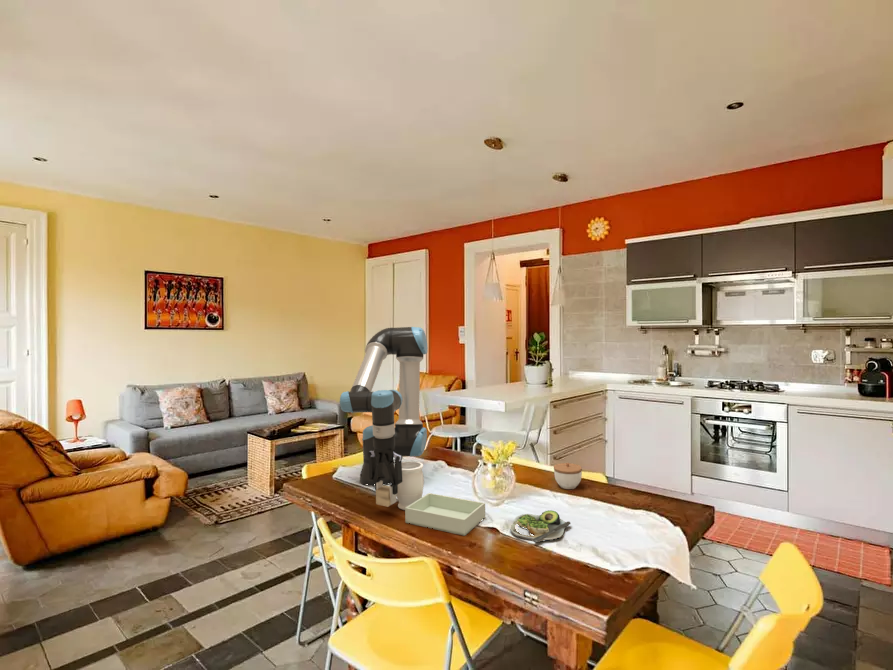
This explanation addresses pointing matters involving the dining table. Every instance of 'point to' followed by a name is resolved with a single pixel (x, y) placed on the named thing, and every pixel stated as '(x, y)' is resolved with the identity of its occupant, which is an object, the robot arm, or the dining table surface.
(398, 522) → the dining table surface
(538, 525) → the avocado toast plate
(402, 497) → the jar
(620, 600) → the dining table surface
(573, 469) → the lidded jar
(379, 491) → the cube
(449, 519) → the tote
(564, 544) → the dining table surface
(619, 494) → the dining table surface
